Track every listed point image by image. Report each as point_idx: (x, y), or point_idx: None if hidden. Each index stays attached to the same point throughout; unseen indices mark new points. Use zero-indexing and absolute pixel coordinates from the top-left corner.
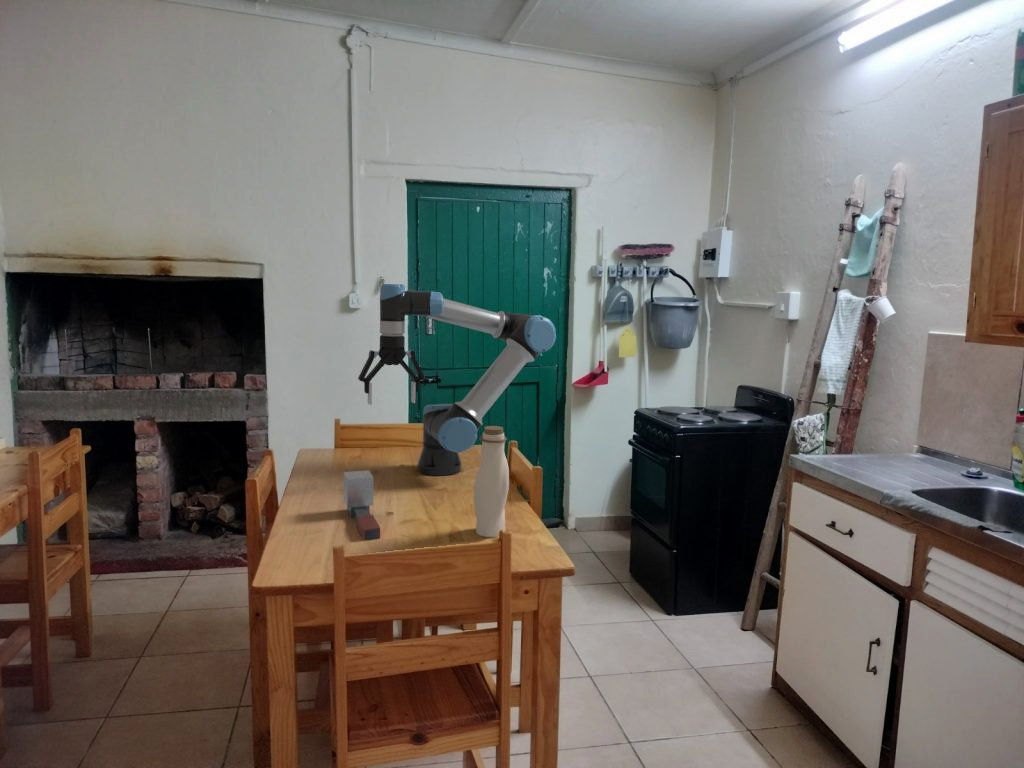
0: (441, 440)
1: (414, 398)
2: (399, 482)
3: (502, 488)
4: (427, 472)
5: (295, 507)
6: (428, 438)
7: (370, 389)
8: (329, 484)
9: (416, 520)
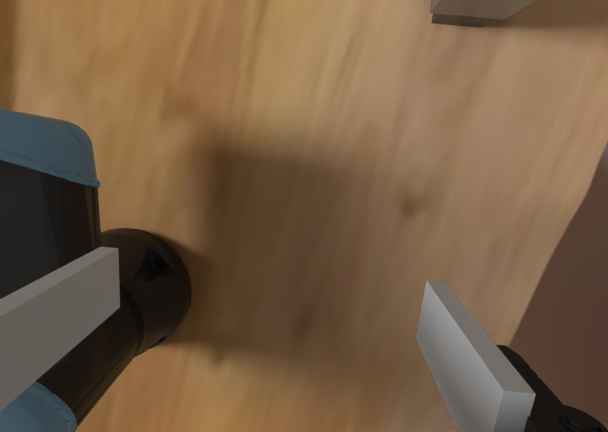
0: (89, 149)
1: (86, 259)
2: (270, 215)
3: None
4: (174, 255)
5: (599, 101)
6: (117, 318)
7: (486, 346)
8: (450, 265)
9: None
